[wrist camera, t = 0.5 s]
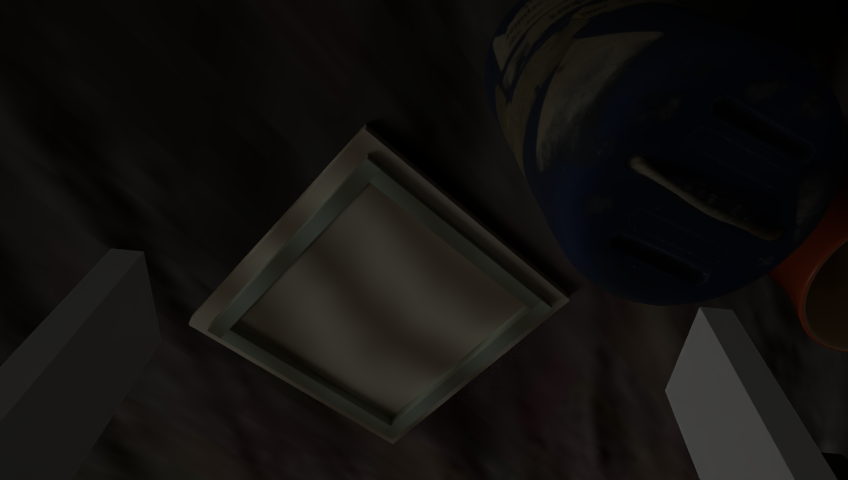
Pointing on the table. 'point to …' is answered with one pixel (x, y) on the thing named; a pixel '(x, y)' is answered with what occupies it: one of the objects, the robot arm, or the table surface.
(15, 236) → the table surface
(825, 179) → the canister
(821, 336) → the mug
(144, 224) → the table surface
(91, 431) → the robot arm
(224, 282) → the square tray
